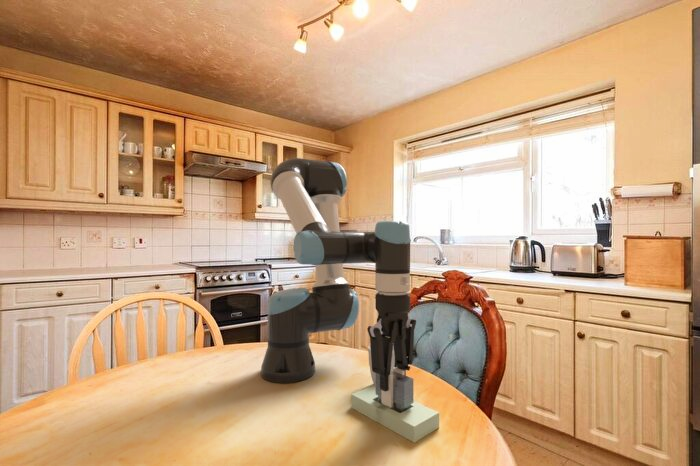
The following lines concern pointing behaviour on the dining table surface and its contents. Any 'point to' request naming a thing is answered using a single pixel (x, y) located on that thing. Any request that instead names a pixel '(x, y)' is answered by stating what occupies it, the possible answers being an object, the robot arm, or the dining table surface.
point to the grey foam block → (399, 391)
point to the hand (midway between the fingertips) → (393, 401)
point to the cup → (371, 363)
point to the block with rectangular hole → (396, 415)
